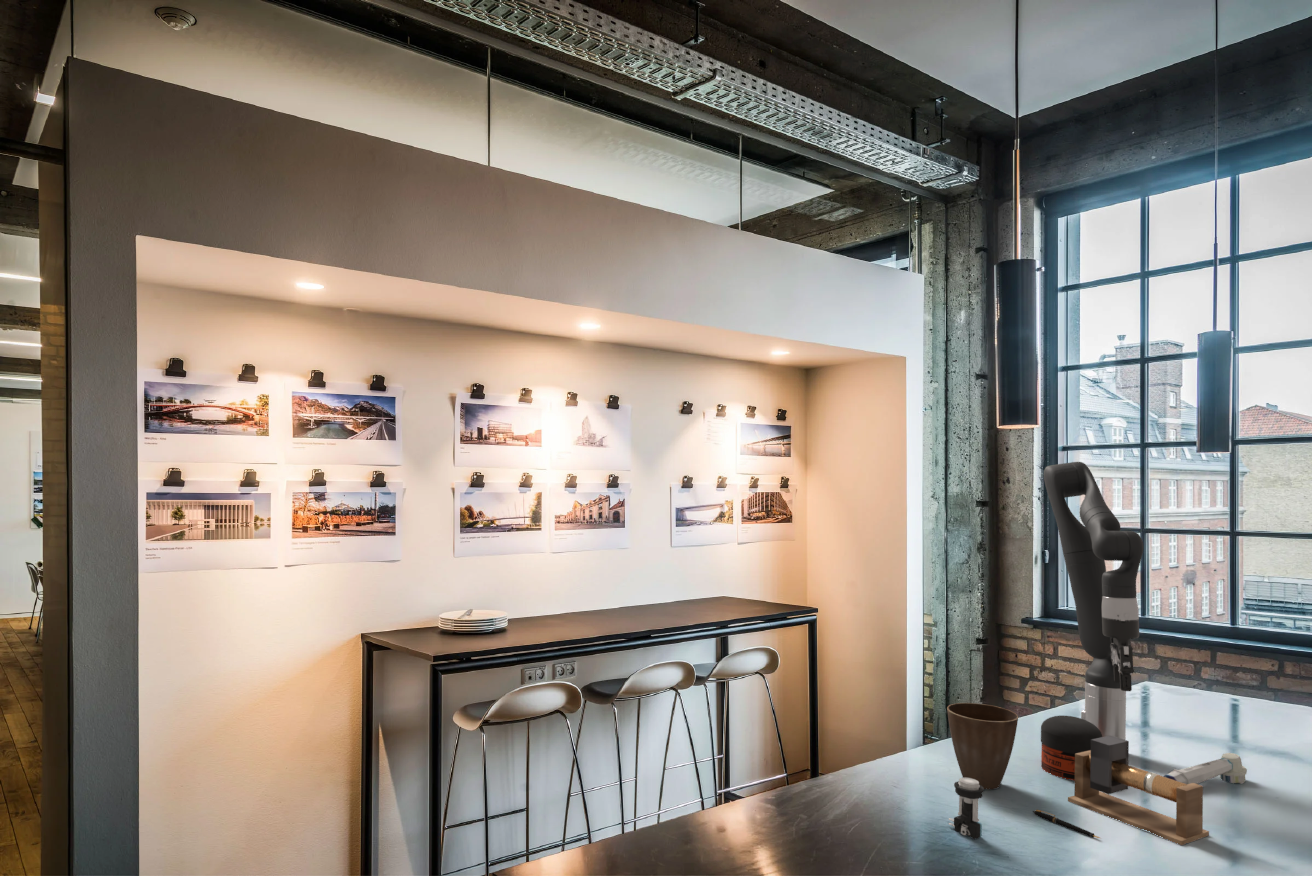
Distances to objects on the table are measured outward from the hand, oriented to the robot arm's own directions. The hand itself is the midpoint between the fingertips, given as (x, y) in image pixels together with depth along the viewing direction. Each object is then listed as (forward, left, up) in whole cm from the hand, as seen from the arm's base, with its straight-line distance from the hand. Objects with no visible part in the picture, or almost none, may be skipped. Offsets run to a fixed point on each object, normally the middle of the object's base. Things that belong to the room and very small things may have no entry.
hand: (1122, 686), depth 189 cm
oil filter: (-9, -6, -22) cm, 24 cm away
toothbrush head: (+10, +16, -22) cm, 29 cm away
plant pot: (-13, -33, -22) cm, 41 cm away
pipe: (+14, -19, -15) cm, 28 cm away
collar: (+8, -19, -17) cm, 27 cm away
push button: (+3, -58, -22) cm, 62 cm away
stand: (+14, -19, -21) cm, 32 cm away
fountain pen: (+10, -37, -22) cm, 44 cm away
